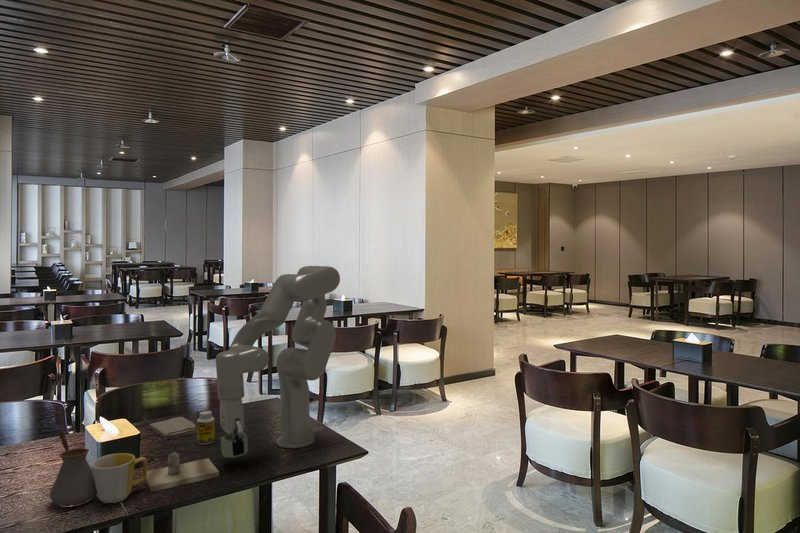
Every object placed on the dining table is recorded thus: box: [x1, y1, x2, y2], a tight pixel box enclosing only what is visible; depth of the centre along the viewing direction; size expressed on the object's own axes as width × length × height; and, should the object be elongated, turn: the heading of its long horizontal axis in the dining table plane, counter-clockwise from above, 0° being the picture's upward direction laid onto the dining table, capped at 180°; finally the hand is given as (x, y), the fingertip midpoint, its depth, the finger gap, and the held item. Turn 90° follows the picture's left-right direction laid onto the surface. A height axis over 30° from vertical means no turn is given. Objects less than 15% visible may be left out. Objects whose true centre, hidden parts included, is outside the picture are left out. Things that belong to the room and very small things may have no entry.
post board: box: [144, 451, 220, 493], centre depth 163 cm, size 18×12×8 cm, turn 122°
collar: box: [220, 431, 249, 459], centre depth 171 cm, size 7×7×5 cm
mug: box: [90, 452, 148, 504], centre depth 150 cm, size 14×10×10 cm
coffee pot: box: [49, 430, 97, 506], centre depth 152 cm, size 21×12×15 cm, turn 42°
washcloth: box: [148, 416, 197, 441], centre depth 204 cm, size 12×18×3 cm, turn 43°
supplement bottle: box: [196, 410, 216, 446], centre depth 191 cm, size 6×6×10 cm
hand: (234, 449), depth 171 cm, fingers closed on collar, 7 cm apart
